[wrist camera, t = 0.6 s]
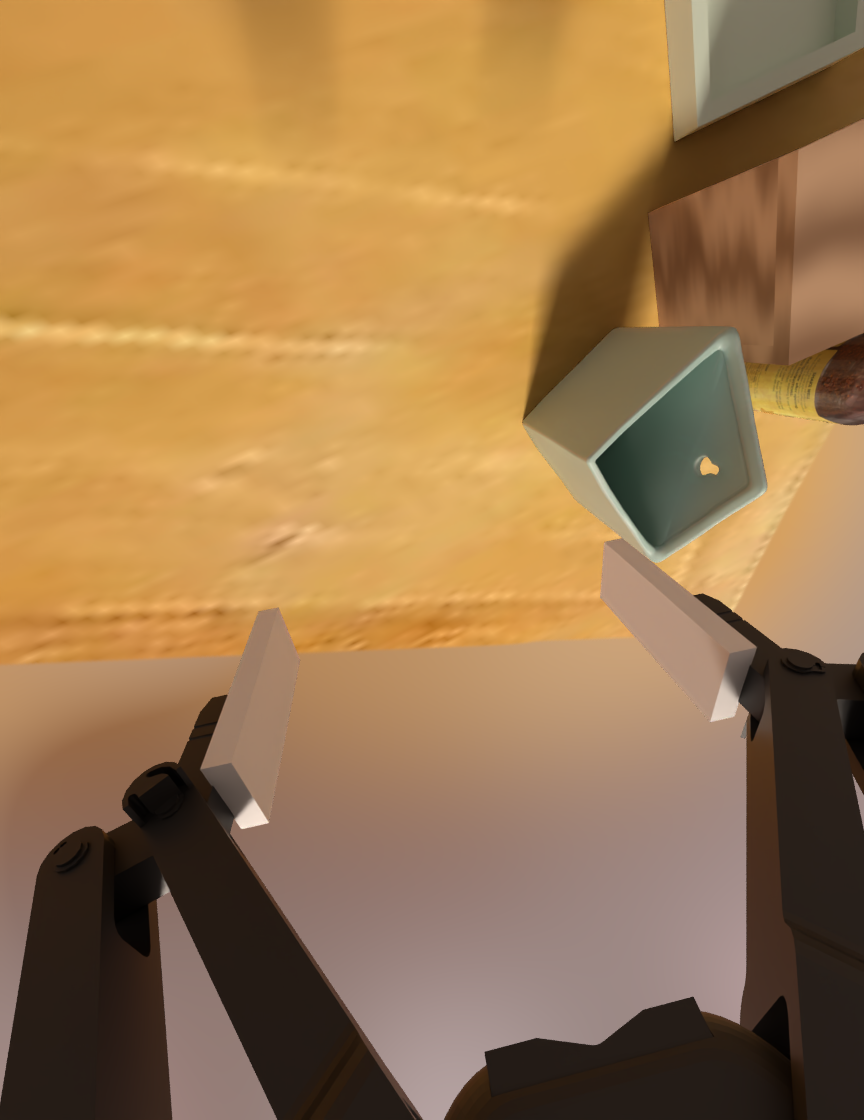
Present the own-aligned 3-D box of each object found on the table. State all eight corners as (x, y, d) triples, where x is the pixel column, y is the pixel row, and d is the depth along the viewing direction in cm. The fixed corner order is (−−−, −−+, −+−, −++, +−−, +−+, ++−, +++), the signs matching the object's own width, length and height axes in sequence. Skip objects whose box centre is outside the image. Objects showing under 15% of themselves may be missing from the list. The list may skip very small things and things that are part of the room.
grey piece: (535, 324, 36) (691, 317, 19) (620, 327, 37) (842, 324, 20) (511, 503, 44) (605, 615, 26) (582, 502, 45) (717, 608, 28)
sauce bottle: (723, 418, 42) (970, 479, 25) (698, 370, 40) (956, 400, 22) (782, 369, 41) (1089, 398, 23) (761, 315, 38) (1090, 302, 21)
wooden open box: (648, 212, 33) (798, 149, 22) (859, 112, 32) (1137, -11, 20) (662, 355, 38) (788, 365, 27) (843, 274, 37) (1056, 249, 26)
